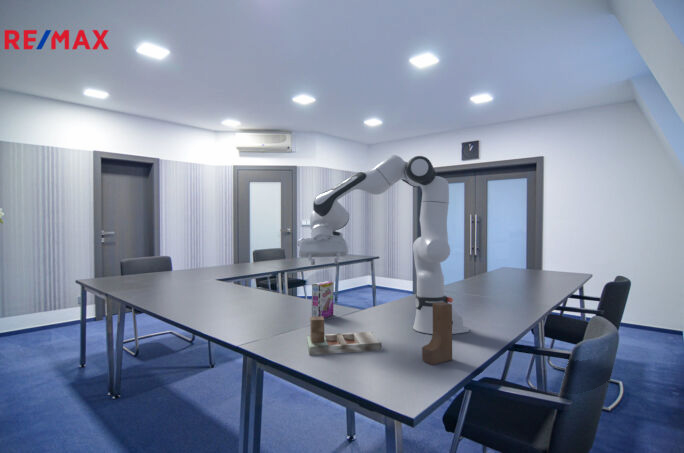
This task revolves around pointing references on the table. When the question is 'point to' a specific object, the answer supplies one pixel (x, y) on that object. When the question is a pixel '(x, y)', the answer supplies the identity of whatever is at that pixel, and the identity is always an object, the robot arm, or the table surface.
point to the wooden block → (440, 335)
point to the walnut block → (317, 329)
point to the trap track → (344, 343)
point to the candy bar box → (322, 299)
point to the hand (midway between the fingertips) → (324, 263)
